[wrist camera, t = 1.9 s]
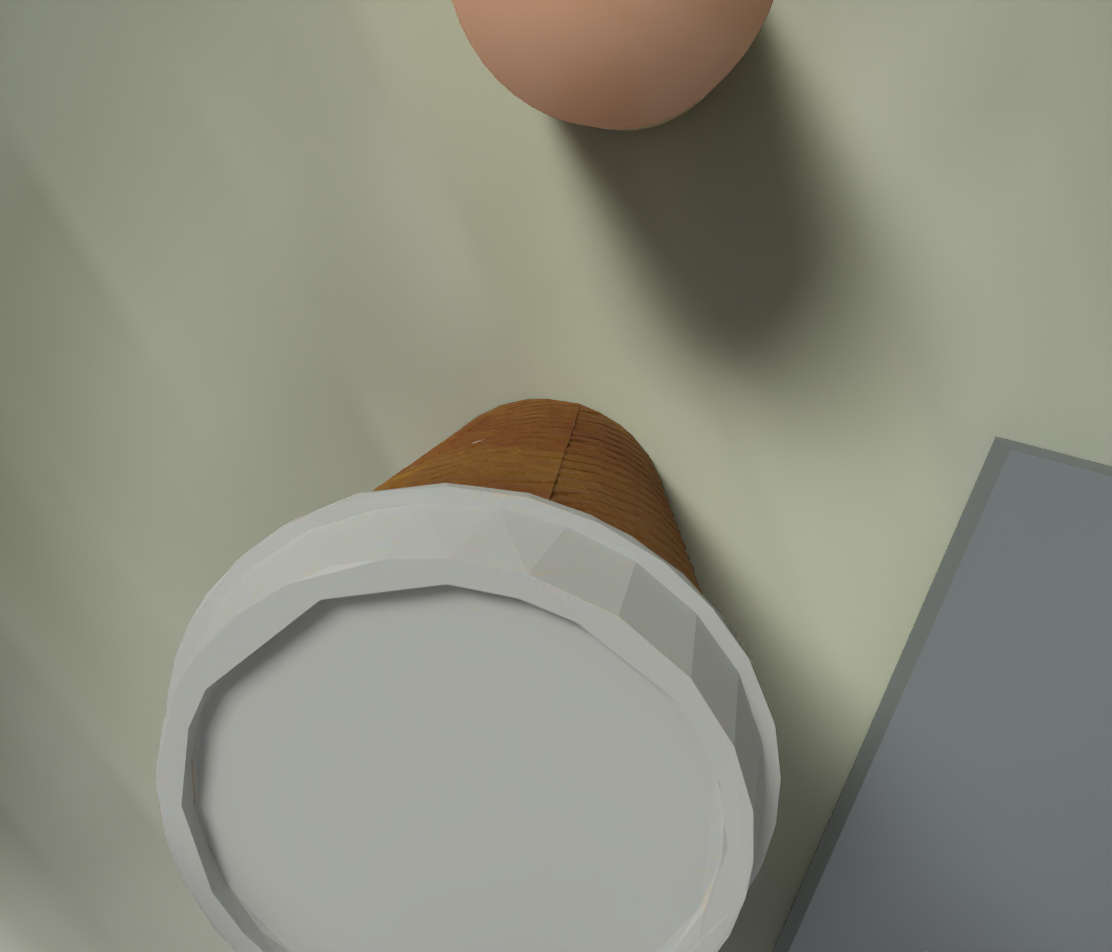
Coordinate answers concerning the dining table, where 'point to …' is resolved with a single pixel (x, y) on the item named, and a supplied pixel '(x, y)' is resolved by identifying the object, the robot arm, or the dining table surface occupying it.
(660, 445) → the dining table surface
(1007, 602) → the slate board
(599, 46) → the light brown egg
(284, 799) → the disposable coffee cup
